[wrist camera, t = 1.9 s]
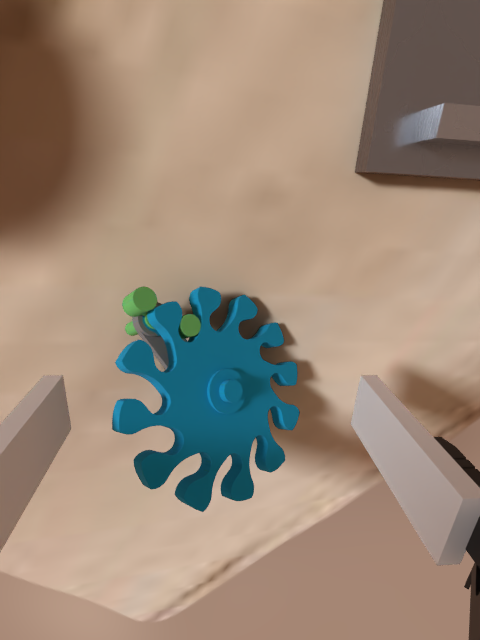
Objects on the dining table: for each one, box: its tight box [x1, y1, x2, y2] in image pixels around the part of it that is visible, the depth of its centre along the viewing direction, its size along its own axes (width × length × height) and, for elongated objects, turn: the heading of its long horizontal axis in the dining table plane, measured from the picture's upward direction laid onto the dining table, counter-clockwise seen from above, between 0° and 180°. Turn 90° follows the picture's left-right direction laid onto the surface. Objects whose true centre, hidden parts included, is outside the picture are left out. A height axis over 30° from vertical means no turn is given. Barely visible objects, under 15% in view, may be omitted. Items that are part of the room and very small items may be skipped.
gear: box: [112, 287, 300, 512], centre depth 17 cm, size 11×6×10 cm
